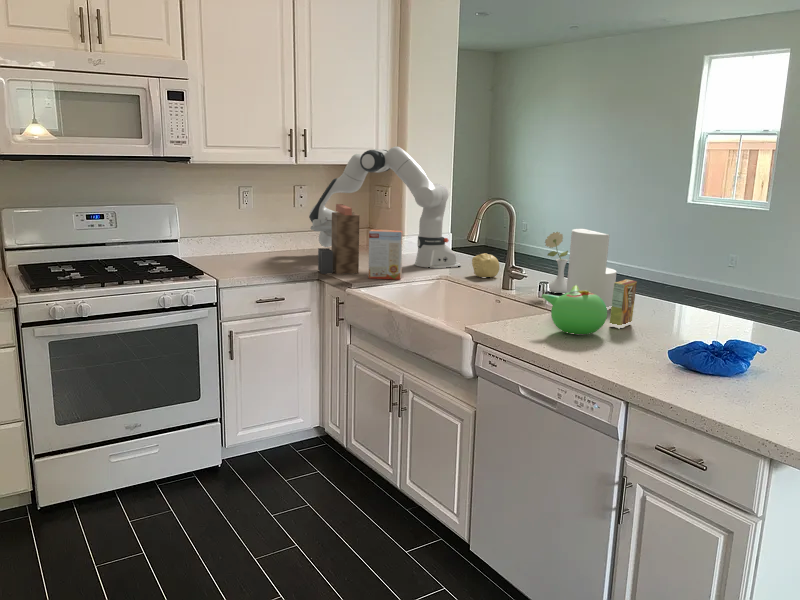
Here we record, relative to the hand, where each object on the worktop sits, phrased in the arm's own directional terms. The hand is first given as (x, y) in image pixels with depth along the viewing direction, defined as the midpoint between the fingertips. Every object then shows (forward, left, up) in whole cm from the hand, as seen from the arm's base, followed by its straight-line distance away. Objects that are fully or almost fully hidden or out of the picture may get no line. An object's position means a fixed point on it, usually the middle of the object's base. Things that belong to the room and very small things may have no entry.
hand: (335, 218), depth 321 cm
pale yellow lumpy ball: (-60, +42, -22) cm, 77 cm away
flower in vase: (-76, +78, -22) cm, 111 cm away
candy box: (-71, +129, -22) cm, 149 cm away
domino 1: (+9, +18, -21) cm, 30 cm away
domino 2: (+9, +22, -21) cm, 32 cm away
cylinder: (-77, +100, -22) cm, 128 cm away
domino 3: (+9, +25, -21) cm, 34 cm away
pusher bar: (0, +17, +5) cm, 18 cm away
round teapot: (-51, +134, -22) cm, 145 cm away
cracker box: (-14, +39, -22) cm, 47 cm away
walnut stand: (0, +21, -21) cm, 30 cm away
